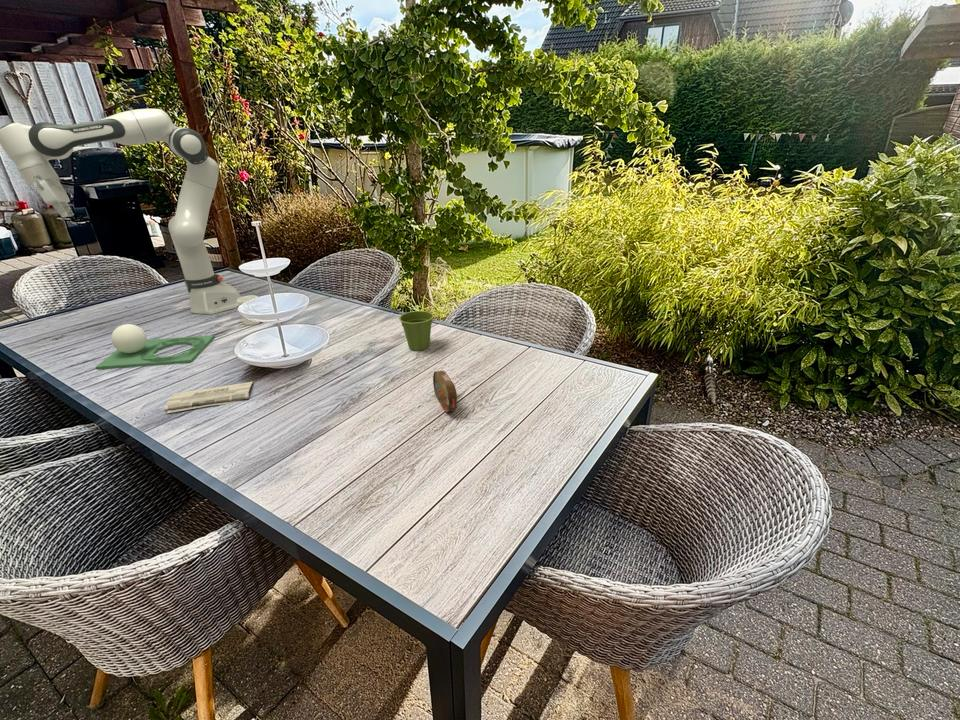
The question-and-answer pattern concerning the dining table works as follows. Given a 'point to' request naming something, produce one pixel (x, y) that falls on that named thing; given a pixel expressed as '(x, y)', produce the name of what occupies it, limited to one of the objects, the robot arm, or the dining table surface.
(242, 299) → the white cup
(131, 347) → the ball
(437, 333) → the dining table surface
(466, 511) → the dining table surface
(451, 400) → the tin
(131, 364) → the putting mat
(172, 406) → the newspaper
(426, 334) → the plant pot
